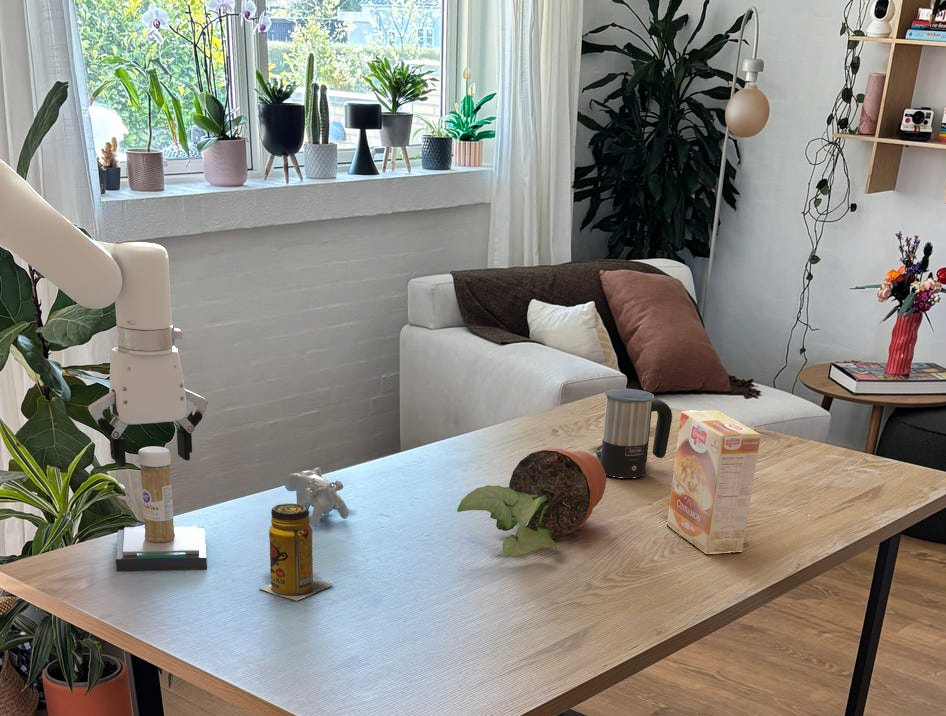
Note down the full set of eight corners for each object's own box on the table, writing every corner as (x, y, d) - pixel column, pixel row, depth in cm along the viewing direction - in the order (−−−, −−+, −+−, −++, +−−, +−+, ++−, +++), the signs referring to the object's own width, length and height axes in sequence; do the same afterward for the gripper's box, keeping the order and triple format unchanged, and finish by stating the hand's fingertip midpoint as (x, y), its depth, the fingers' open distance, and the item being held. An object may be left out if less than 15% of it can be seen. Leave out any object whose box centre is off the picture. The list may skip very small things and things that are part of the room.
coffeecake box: (664, 526, 222) (679, 410, 212) (702, 523, 224) (718, 409, 214) (704, 556, 209) (722, 434, 200) (743, 553, 212) (763, 433, 202)
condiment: (258, 589, 187) (255, 508, 181) (297, 573, 193) (295, 494, 187) (296, 602, 183) (294, 519, 177) (335, 586, 190) (334, 505, 184)
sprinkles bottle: (138, 540, 195) (131, 450, 188) (157, 531, 199) (150, 443, 192) (163, 545, 193) (157, 455, 187) (182, 537, 197) (176, 448, 190)
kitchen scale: (116, 571, 190) (115, 555, 189) (118, 541, 201) (117, 526, 200) (207, 569, 193) (206, 553, 192) (204, 539, 204) (203, 524, 202)
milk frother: (621, 482, 242) (630, 402, 235) (562, 462, 252) (569, 383, 245) (672, 471, 250) (682, 393, 243) (613, 452, 260) (621, 376, 253)
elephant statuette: (326, 532, 209) (326, 486, 206) (264, 519, 214) (262, 473, 210) (356, 517, 217) (356, 472, 213) (295, 504, 221) (294, 459, 217)
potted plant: (532, 518, 227) (439, 560, 198) (546, 430, 220) (453, 460, 191) (614, 541, 221) (532, 586, 192) (632, 451, 214) (549, 485, 185)
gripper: (194, 331, 188) (199, 449, 197) (75, 336, 180) (85, 459, 188) (214, 341, 183) (218, 462, 191) (92, 347, 174) (102, 473, 183)
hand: (152, 460), depth 190 cm, fingers open, 9 cm apart
